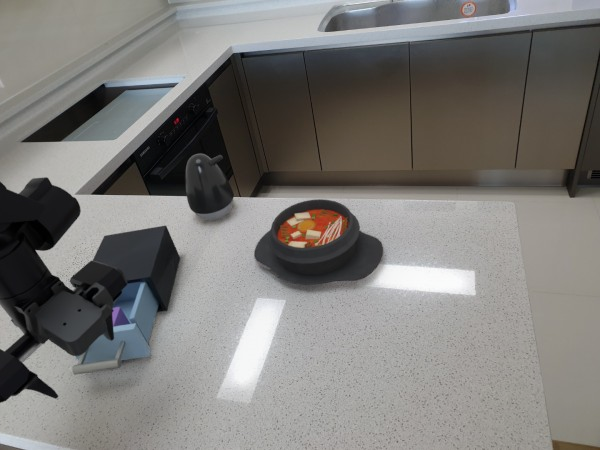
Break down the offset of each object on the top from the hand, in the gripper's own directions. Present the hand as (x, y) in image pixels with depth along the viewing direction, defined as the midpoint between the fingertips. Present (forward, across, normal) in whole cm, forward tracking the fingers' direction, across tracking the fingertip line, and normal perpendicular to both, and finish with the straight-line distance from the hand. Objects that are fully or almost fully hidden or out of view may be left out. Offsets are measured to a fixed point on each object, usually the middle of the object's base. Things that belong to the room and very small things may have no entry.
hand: (84, 366), depth 59 cm
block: (+9, +8, +10) cm, 16 cm away
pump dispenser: (+13, +47, +18) cm, 52 cm away
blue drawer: (+12, +11, +11) cm, 19 cm away
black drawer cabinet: (+13, +22, +18) cm, 31 cm away
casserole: (+13, +40, -12) cm, 44 cm away
